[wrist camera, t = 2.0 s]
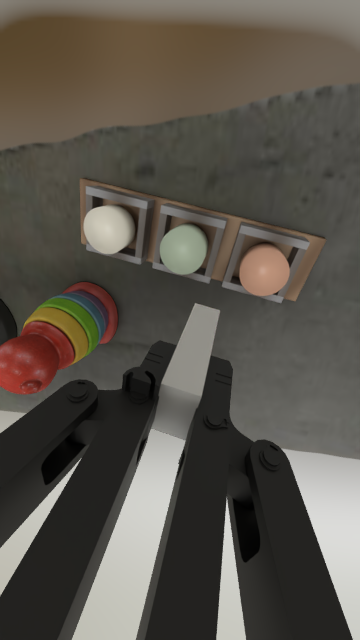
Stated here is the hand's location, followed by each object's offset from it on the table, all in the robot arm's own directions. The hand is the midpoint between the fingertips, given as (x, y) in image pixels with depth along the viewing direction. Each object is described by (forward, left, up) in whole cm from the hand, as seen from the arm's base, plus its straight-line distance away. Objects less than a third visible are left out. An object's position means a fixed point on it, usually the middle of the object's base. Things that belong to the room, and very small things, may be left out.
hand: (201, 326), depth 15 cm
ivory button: (-13, 0, -17) cm, 21 cm away
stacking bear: (-18, -15, -20) cm, 31 cm away
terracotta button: (+5, 0, -17) cm, 17 cm away
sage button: (-4, 0, -17) cm, 17 cm away
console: (-4, 0, -20) cm, 20 cm away
